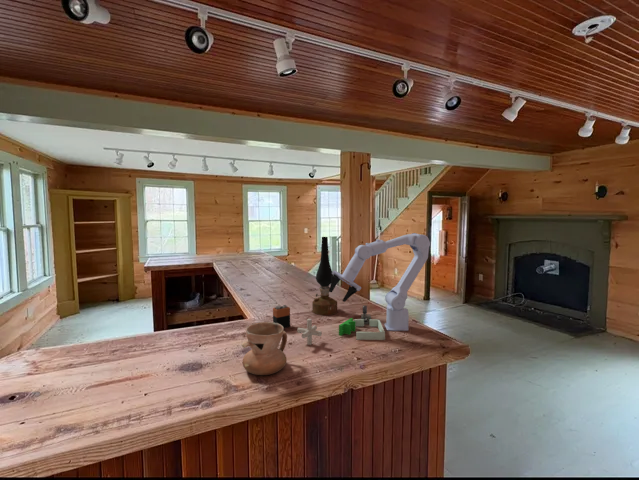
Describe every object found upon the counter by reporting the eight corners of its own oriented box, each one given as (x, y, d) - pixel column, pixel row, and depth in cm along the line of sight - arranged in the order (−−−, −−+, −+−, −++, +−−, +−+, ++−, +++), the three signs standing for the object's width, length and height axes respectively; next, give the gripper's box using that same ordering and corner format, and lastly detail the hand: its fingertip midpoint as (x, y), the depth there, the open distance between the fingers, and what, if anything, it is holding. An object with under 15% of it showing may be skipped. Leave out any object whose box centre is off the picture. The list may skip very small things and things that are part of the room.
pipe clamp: (346, 337, 134) (346, 327, 134) (338, 335, 136) (338, 325, 136) (358, 329, 143) (358, 319, 143) (350, 327, 145) (350, 317, 145)
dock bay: (379, 325, 147) (379, 319, 146) (384, 339, 131) (385, 332, 131) (353, 325, 147) (353, 319, 147) (356, 339, 131) (356, 332, 131)
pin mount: (370, 324, 148) (371, 316, 148) (361, 324, 148) (361, 316, 148) (370, 322, 151) (370, 314, 151) (361, 322, 152) (361, 314, 151)
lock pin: (368, 321, 149) (368, 310, 148) (364, 321, 149) (364, 310, 148) (366, 315, 157) (366, 305, 156) (362, 315, 157) (362, 305, 157)
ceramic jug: (255, 387, 96) (255, 341, 95) (230, 369, 106) (230, 328, 105) (300, 367, 109) (301, 326, 108) (274, 353, 119) (275, 316, 118)
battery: (272, 327, 145) (272, 305, 145) (285, 324, 149) (285, 303, 148) (277, 330, 142) (276, 308, 141) (290, 327, 146) (290, 305, 145)
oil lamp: (341, 316, 171) (356, 242, 171) (326, 319, 158) (342, 239, 158) (319, 309, 178) (334, 238, 178) (304, 311, 165) (319, 235, 165)
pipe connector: (326, 341, 130) (326, 317, 129) (315, 351, 121) (315, 325, 120) (304, 337, 134) (303, 314, 133) (292, 346, 125) (291, 321, 124)
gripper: (336, 260, 140) (320, 287, 140) (363, 277, 133) (346, 305, 133) (342, 262, 146) (327, 288, 147) (368, 279, 139) (352, 305, 140)
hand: (336, 296), depth 140 cm, fingers open, 7 cm apart
